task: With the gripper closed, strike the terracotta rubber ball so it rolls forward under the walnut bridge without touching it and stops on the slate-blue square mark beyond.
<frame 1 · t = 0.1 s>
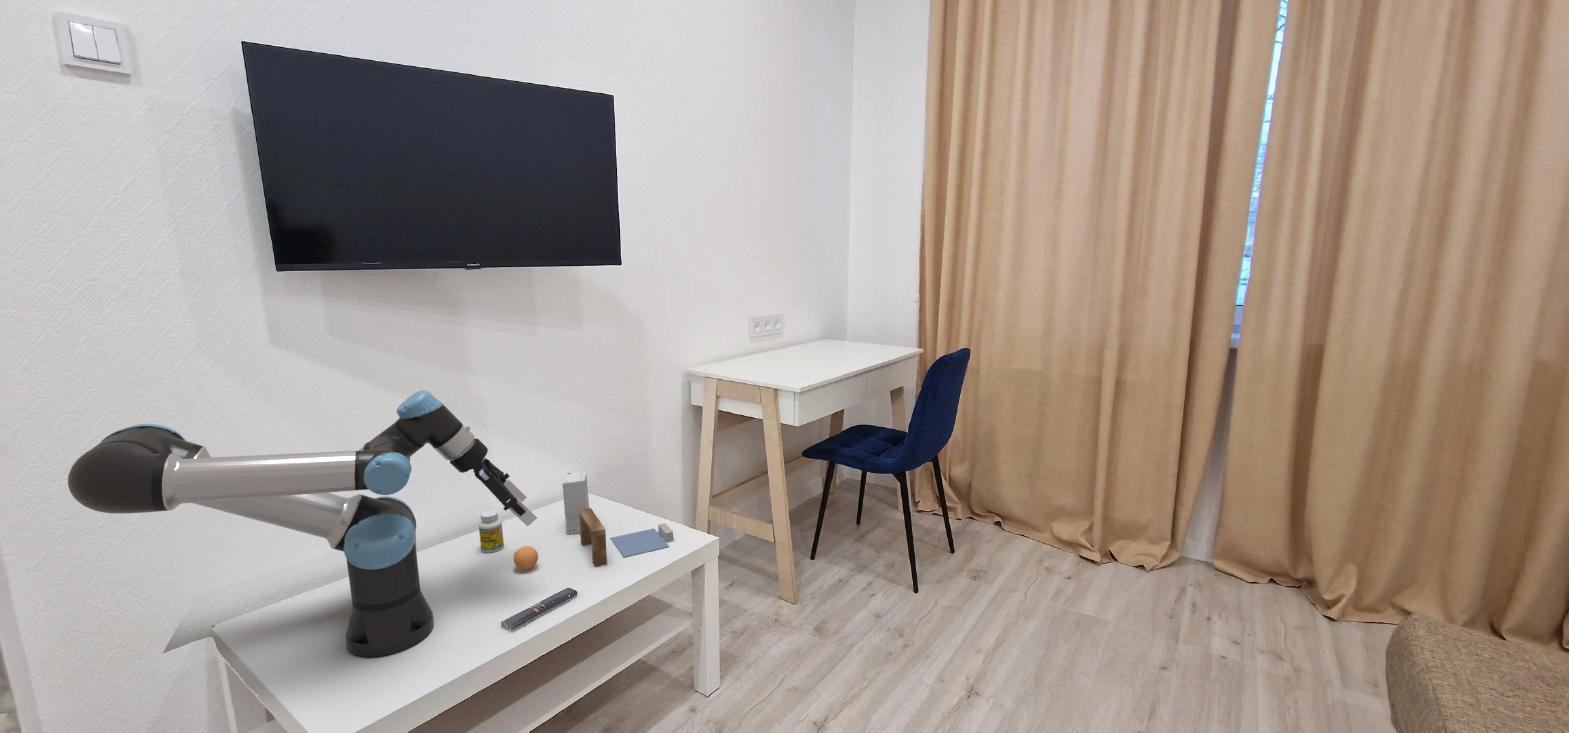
hand: (527, 511, 155), 15 cm above the table, tool tilted 35°, fingers open, 13 cm apart
skincare box: (578, 528, 181), on the table
ball: (525, 557, 158), on the table
bridge: (593, 553, 167), on the table
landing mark: (639, 542, 172), on the table
stopper: (665, 536, 176), on the table
supplement bottle: (492, 549, 169), on the table
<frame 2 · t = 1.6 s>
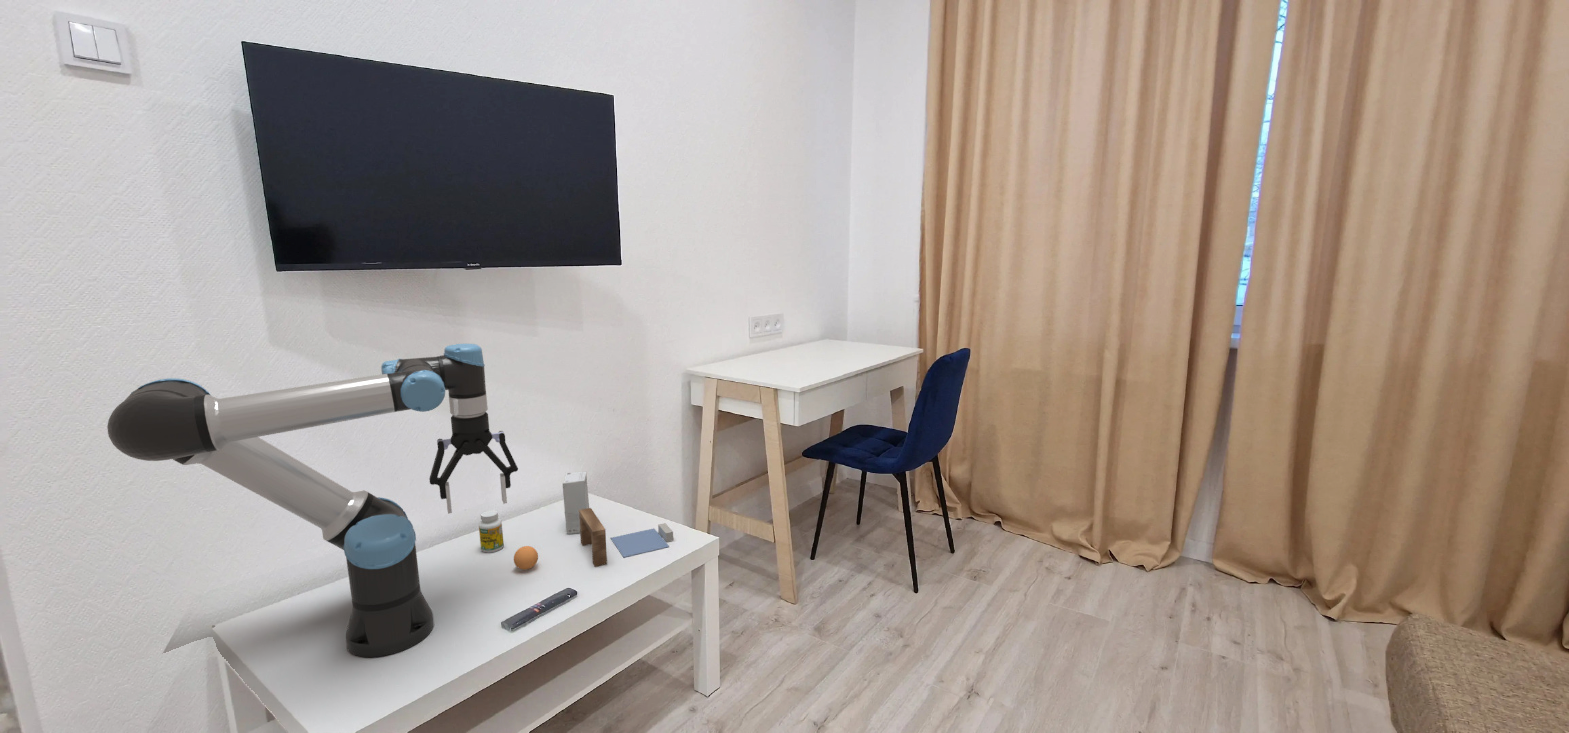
hand: (477, 506, 151), 18 cm above the table, tool pointing down, fingers open, 11 cm apart
nothing on the table moved.
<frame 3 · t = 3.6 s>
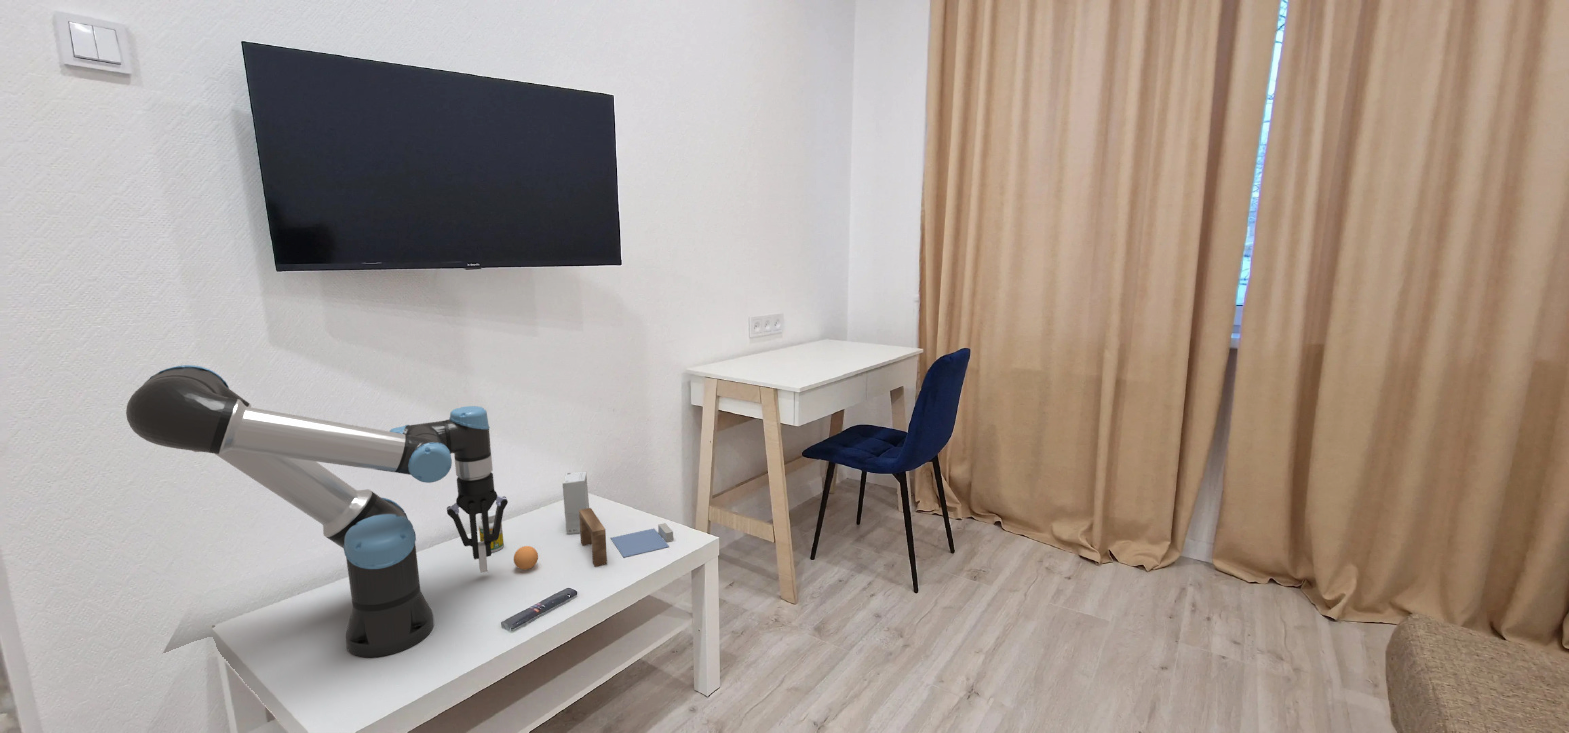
hand: (483, 569, 154), 2 cm above the table, tool pointing down, fingers closed
nothing on the table moved.
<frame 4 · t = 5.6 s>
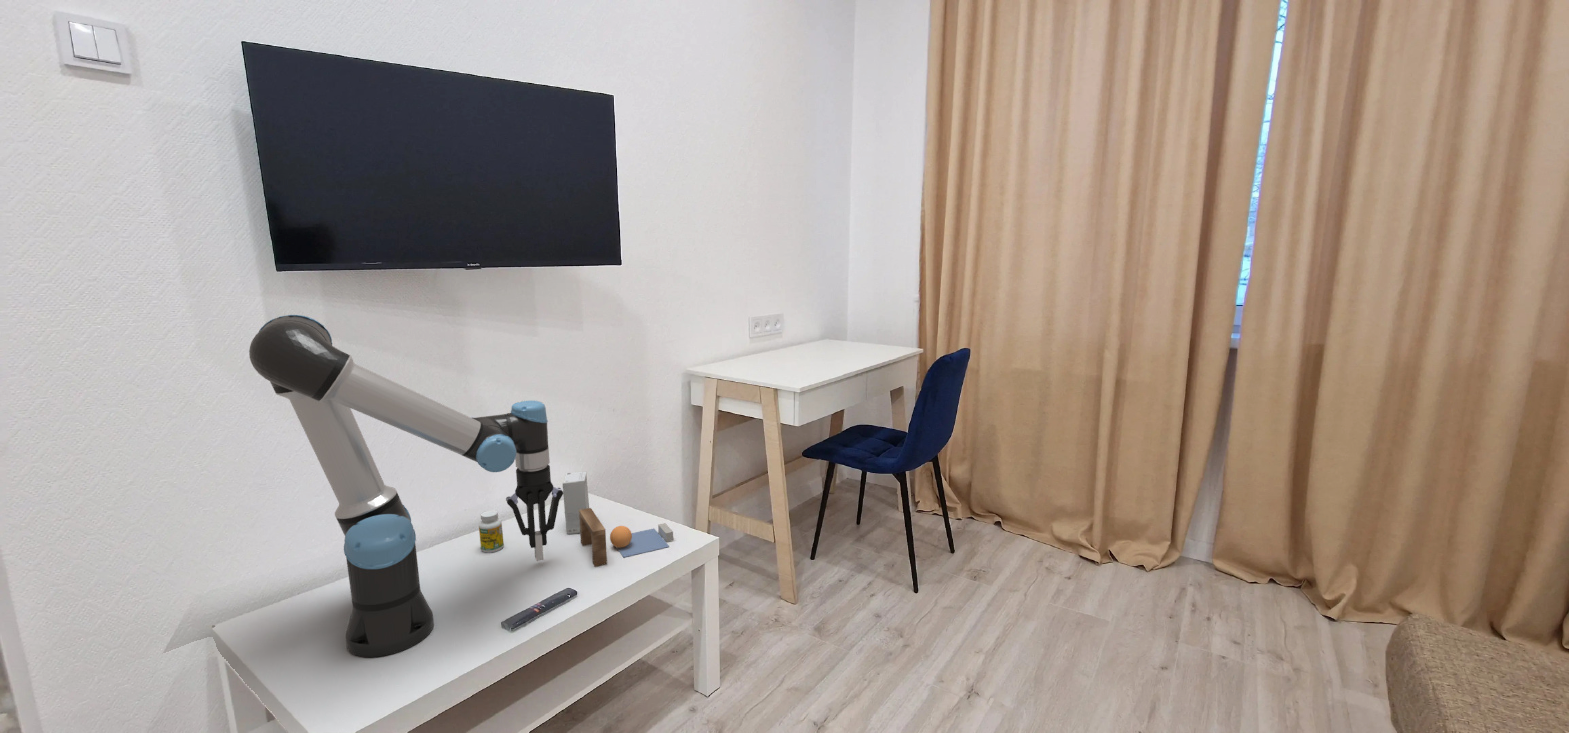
hand: (539, 558, 160), 2 cm above the table, tool pointing down, fingers closed
ball: (620, 536, 170), on the table
everything else where it was.
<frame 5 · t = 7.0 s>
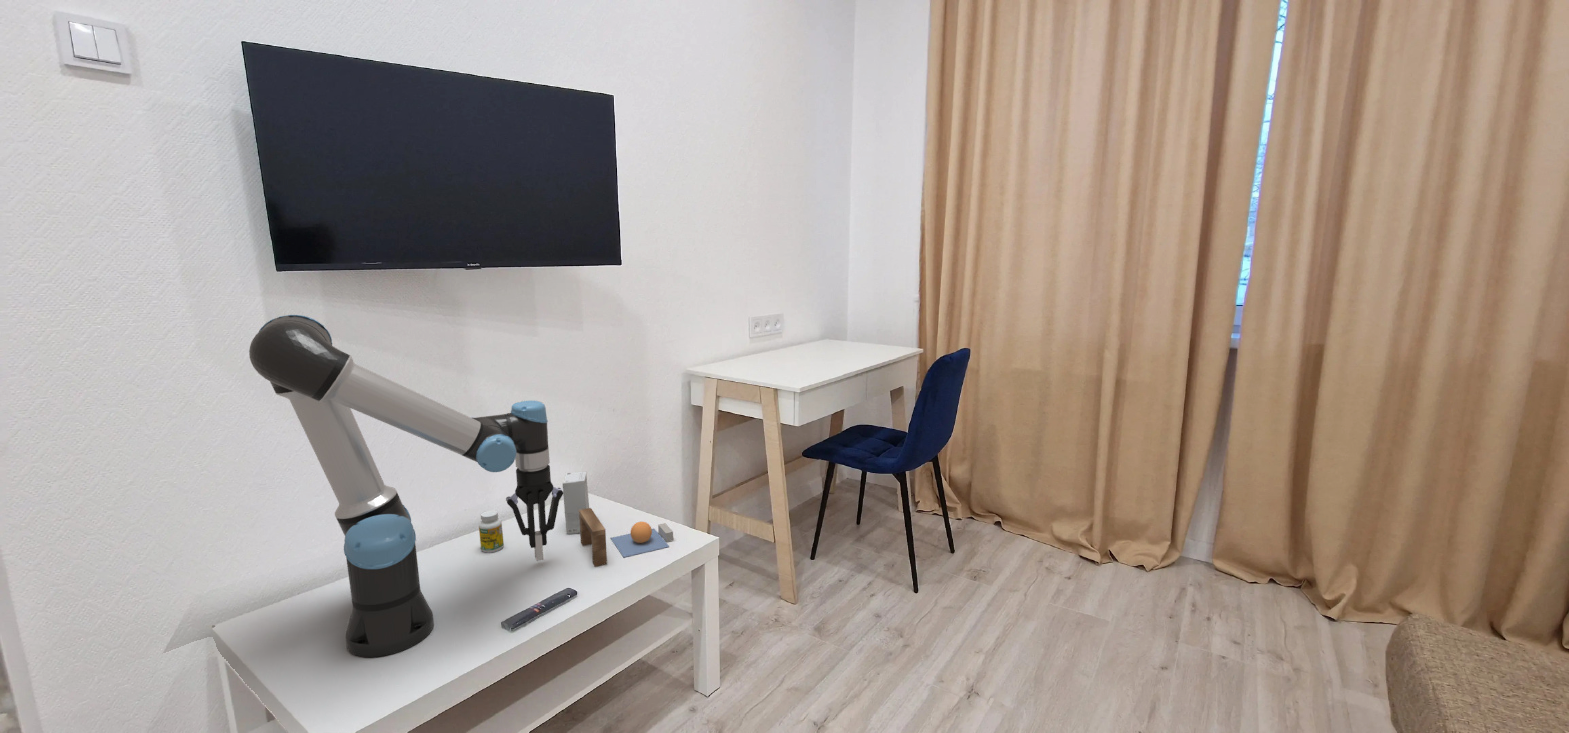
hand: (539, 558, 160), 2 cm above the table, tool pointing down, fingers closed
ball: (641, 532, 172), on the table
everything else where it was.
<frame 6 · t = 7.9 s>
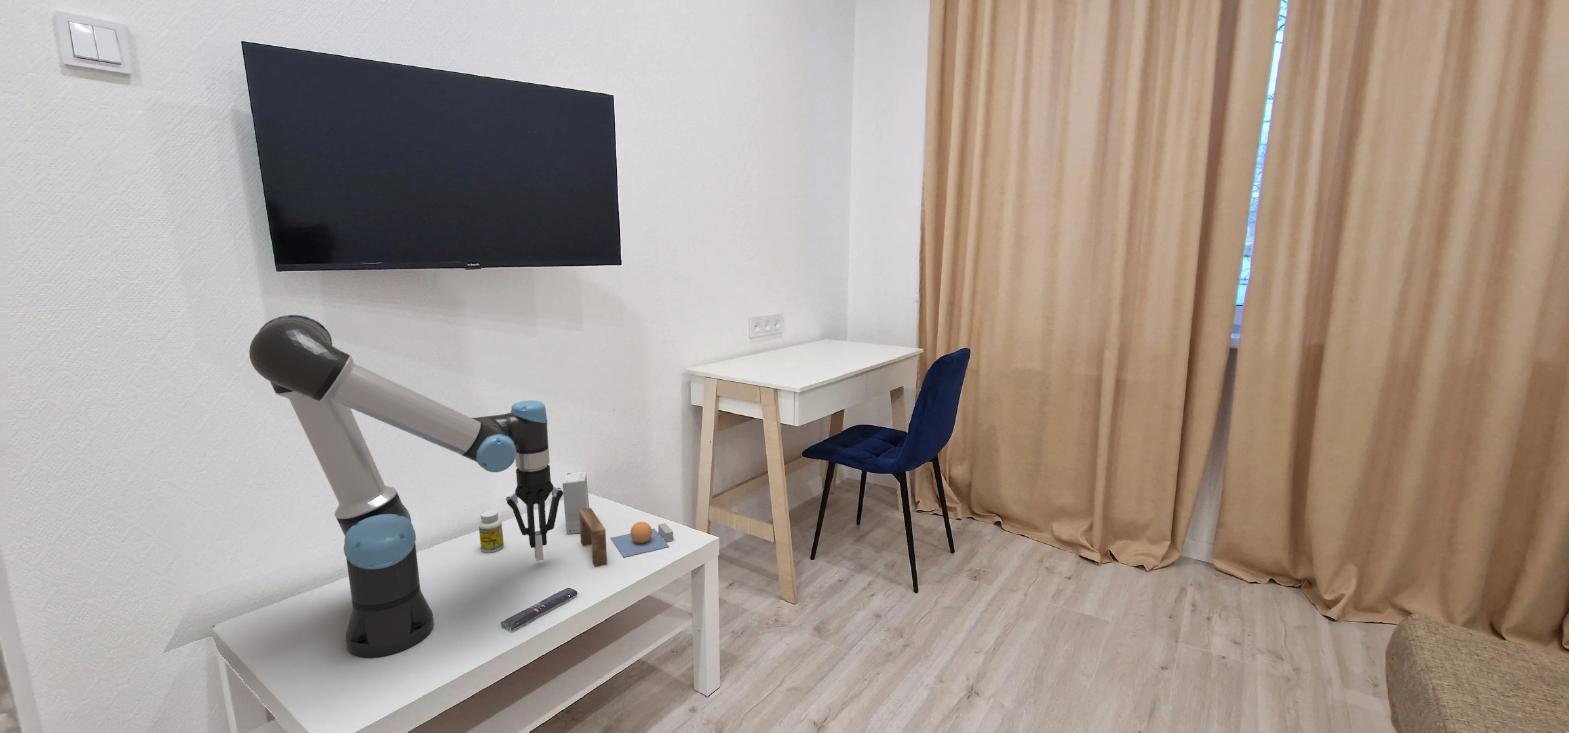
hand: (539, 558, 160), 2 cm above the table, tool pointing down, fingers closed
nothing on the table moved.
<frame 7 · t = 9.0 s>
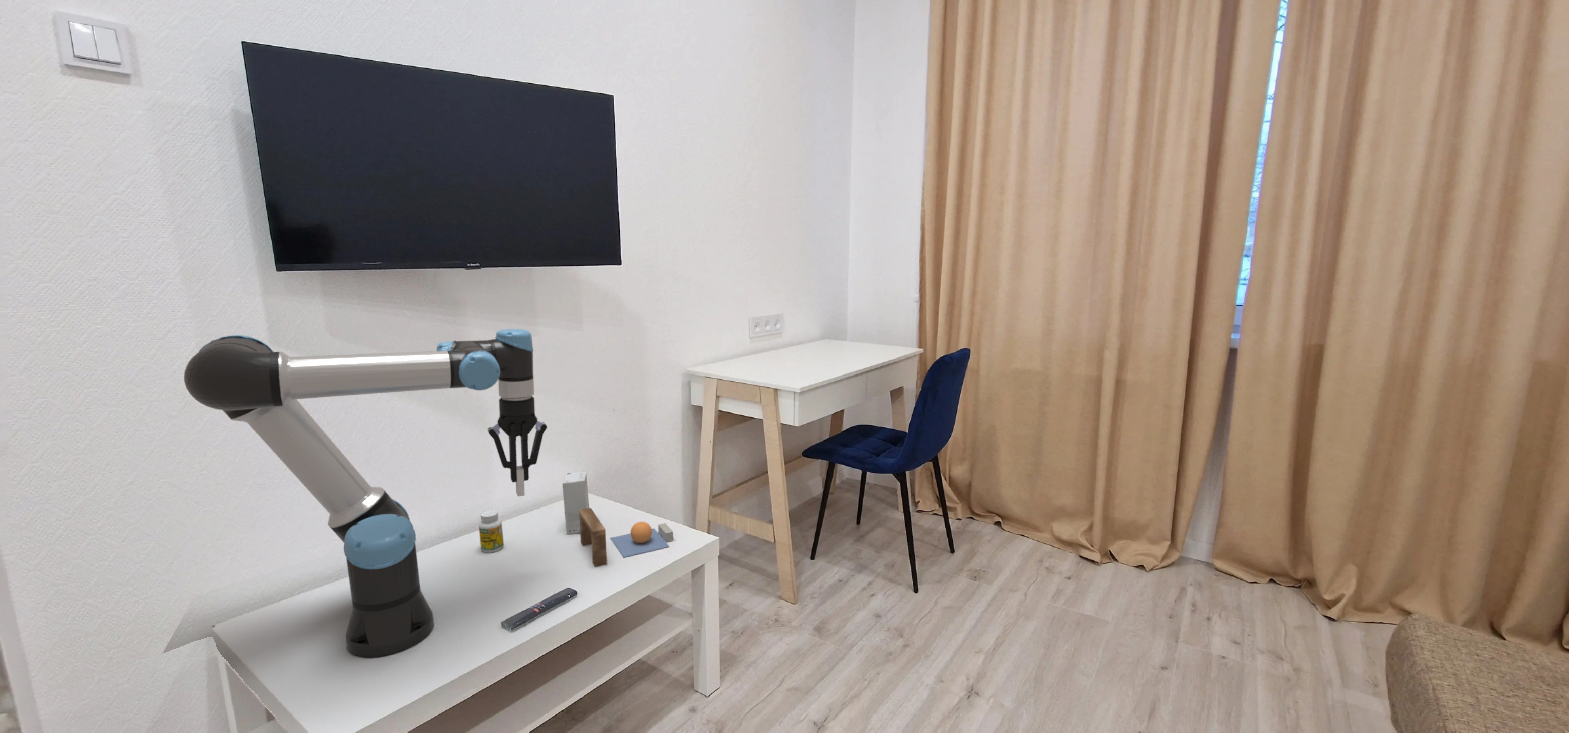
hand: (520, 493, 155), 19 cm above the table, tool pointing down, fingers closed
nothing on the table moved.
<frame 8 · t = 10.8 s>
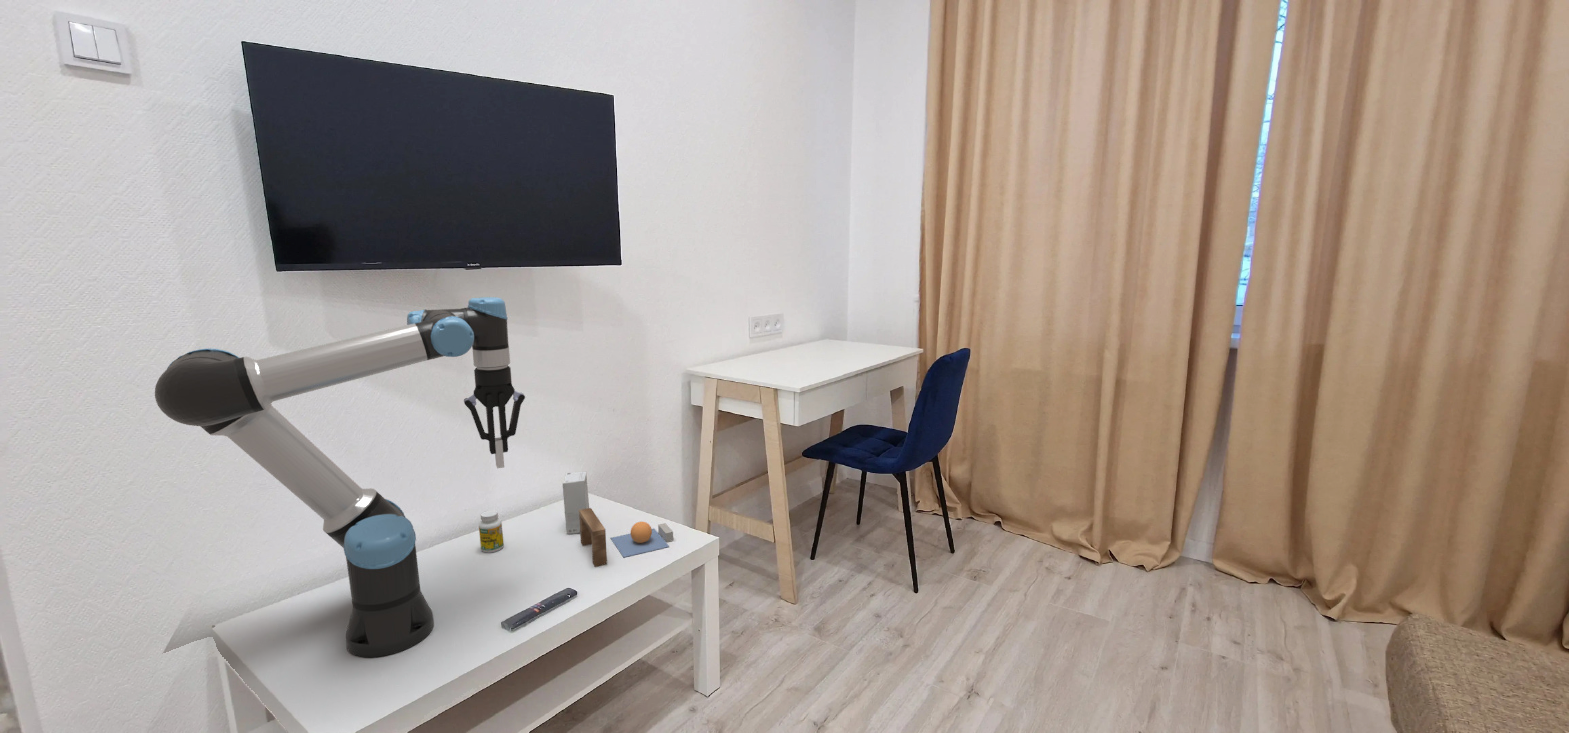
hand: (500, 466, 152), 26 cm above the table, tool pointing down, fingers closed
nothing on the table moved.
at the end: ball 0.6 cm from the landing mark (horizontally); ball never touched bridge; ball at rest at the end (0.0 cm/s) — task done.
